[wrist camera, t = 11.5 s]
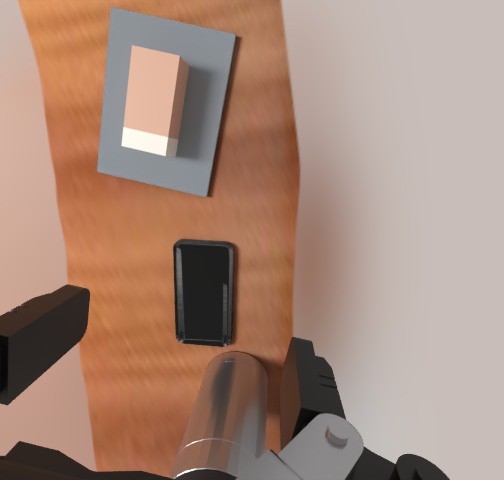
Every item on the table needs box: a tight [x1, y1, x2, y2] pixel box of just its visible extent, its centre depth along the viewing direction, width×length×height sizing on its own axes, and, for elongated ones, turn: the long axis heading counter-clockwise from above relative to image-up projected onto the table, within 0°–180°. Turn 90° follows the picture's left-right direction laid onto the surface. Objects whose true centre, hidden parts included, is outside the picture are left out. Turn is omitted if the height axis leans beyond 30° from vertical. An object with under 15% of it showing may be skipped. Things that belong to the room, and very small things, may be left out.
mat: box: [97, 7, 236, 197], centre depth 36 cm, size 18×14×1 cm
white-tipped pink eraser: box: [121, 45, 189, 157], centre depth 34 cm, size 10×5×4 cm, turn 167°
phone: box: [173, 239, 234, 347], centre depth 42 cm, size 8×1×15 cm
